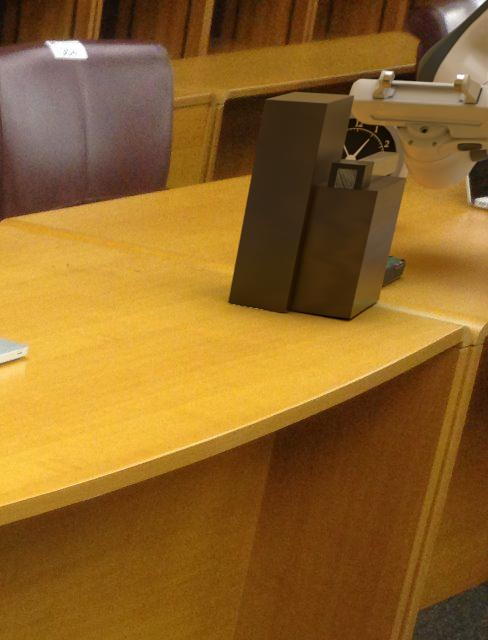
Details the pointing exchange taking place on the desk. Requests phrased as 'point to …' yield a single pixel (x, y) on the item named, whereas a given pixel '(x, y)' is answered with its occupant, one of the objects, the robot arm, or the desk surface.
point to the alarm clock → (373, 143)
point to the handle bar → (362, 170)
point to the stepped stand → (311, 216)
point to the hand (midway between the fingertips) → (423, 77)
